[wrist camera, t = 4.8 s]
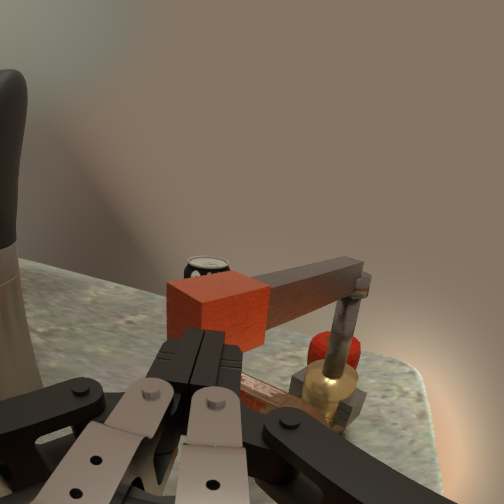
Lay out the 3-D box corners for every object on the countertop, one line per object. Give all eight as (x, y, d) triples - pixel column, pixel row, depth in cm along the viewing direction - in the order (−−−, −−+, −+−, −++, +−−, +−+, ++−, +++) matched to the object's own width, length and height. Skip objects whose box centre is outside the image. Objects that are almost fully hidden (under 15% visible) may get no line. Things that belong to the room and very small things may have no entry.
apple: (326, 369, 40) (337, 320, 38) (359, 391, 35) (375, 340, 33) (290, 383, 36) (300, 331, 35) (324, 410, 31) (339, 355, 30)
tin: (177, 422, 28) (173, 355, 26) (198, 409, 30) (199, 344, 28) (307, 500, 19) (333, 438, 17) (324, 477, 22) (350, 413, 20)
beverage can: (208, 324, 50) (211, 253, 48) (235, 340, 46) (242, 263, 43) (174, 334, 46) (175, 258, 43) (201, 353, 41) (204, 270, 39)
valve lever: (343, 283, 27) (349, 247, 26) (373, 293, 25) (380, 255, 24) (166, 343, 15) (165, 281, 14) (201, 372, 13) (203, 304, 12)
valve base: (356, 429, 28) (397, 300, 24) (330, 455, 24) (375, 316, 21) (305, 402, 33) (330, 279, 29) (276, 422, 29) (299, 289, 26)
